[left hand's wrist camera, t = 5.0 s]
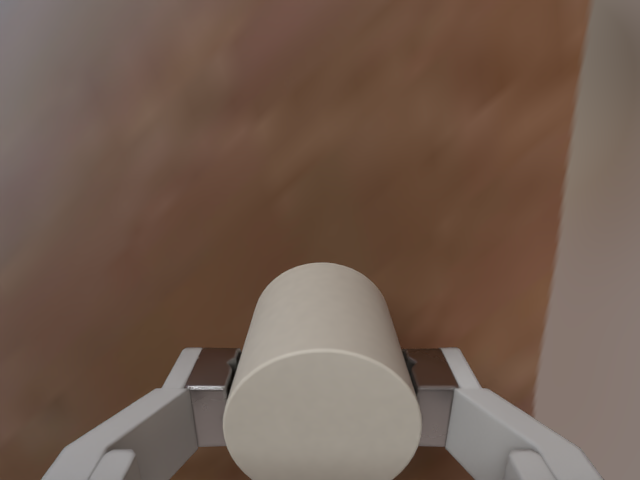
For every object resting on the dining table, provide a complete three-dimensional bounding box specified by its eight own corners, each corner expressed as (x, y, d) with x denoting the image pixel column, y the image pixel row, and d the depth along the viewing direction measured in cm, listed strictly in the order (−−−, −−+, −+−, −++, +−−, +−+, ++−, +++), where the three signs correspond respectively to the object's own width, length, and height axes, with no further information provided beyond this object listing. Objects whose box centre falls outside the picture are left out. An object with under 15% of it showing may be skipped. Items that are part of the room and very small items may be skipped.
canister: (413, 337, 13) (458, 452, 9) (305, 397, 14) (299, 526, 9) (340, 235, 11) (352, 312, 7) (226, 307, 12) (179, 413, 8)
